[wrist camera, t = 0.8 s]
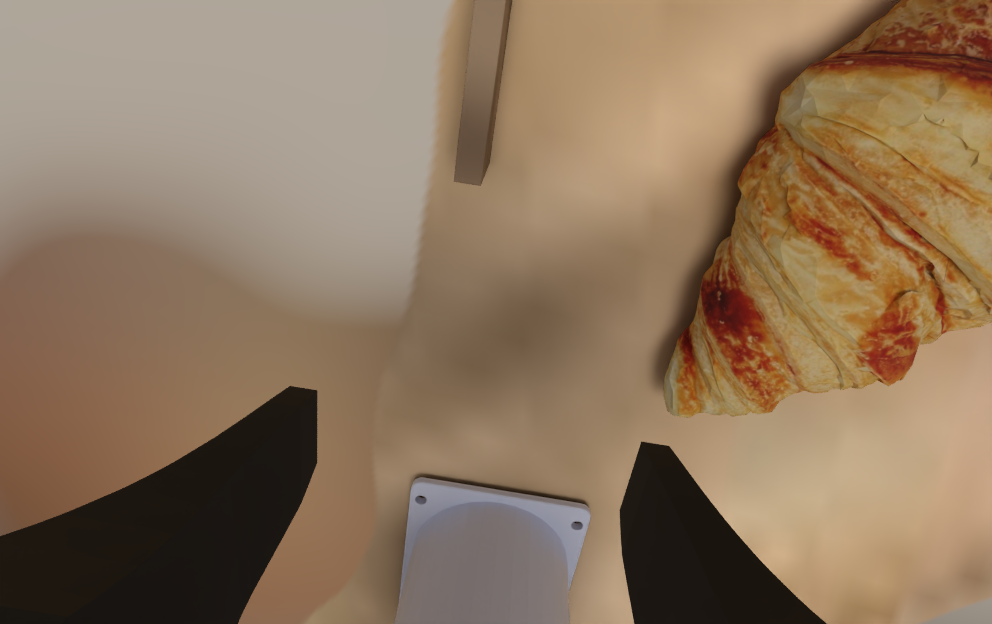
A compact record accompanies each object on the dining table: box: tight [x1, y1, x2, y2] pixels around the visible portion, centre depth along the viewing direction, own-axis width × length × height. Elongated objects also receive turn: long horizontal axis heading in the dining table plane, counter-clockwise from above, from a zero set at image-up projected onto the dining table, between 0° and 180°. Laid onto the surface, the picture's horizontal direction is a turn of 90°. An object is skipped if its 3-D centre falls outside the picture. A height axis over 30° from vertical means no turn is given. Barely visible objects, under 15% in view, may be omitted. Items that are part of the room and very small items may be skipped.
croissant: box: [663, 0, 992, 418], centre depth 17 cm, size 21×10×8 cm, turn 146°
